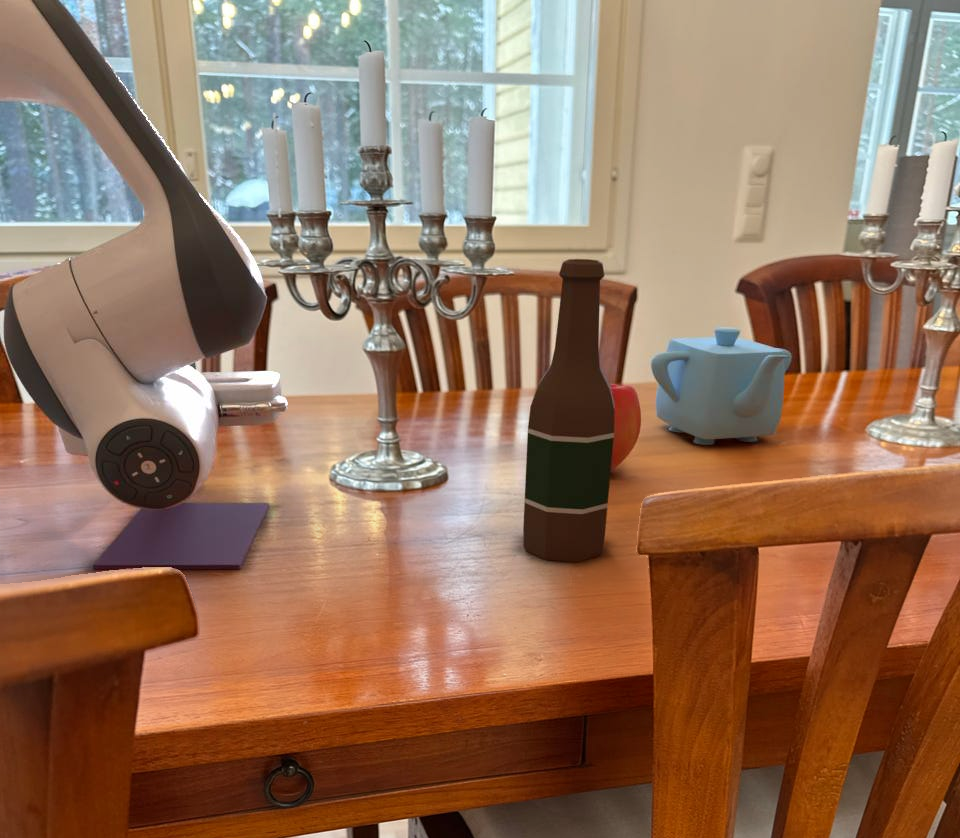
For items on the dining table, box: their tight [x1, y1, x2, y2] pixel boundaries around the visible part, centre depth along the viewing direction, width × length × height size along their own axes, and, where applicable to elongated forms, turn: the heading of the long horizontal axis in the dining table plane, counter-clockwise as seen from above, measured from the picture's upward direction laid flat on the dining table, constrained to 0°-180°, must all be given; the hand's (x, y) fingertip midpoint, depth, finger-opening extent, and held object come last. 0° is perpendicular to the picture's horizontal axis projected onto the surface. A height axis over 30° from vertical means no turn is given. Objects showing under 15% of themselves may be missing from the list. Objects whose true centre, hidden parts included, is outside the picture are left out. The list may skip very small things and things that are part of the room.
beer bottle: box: [522, 258, 615, 563], centre depth 75 cm, size 8×8×24 cm
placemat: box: [92, 502, 270, 570], centre depth 81 cm, size 12×16×1 cm
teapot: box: [650, 326, 793, 446], centre depth 115 cm, size 18×16×14 cm
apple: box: [609, 382, 642, 472], centre depth 100 cm, size 10×10×10 cm
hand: (176, 381), depth 89 cm, fingers closed on vegetable, 4 cm apart
